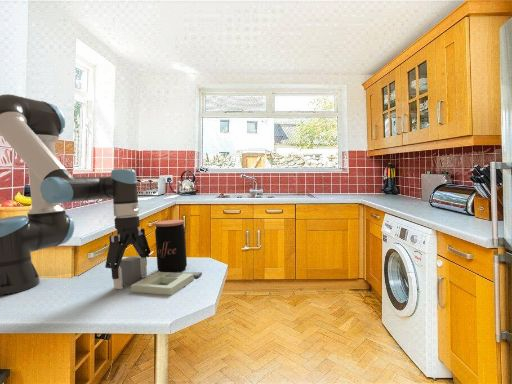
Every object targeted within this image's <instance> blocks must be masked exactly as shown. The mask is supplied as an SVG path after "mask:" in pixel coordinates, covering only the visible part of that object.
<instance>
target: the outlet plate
mask: <svg viewBox="0 0 512 384" xmlns="http://www.w3.org/2000/svg"><path fill="white" fill-rule="evenodd" d="M194 280H195V278H194V274H188V273H182V272H176V273H174V272H159V271H156V272H154V273H152V274H150V275H147V276H146V277H144V278H141V280H140V281H138V282H136V283H134V284H132V285H130V286H131V288H130V289H131V290H130V291H131V292H133V293H144V294H154V295H155V294H157V295H166V296H173V295H174V294H175V293H177V292H178V291H179V290H181V289H183V288H184V287H185V286H187V285H188V284H190V283H191V282H193V281H194ZM164 284H166V285H164Z"/></svg>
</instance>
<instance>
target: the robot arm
mask: <svg viewBox="0 0 512 384" xmlns="http://www.w3.org/2000/svg"><path fill="white" fill-rule="evenodd" d="M65 119H66V118H65V116H64V114H63V111H62V110H61V109H60V108H58V106H57V105H54V104H52V103H48V102H47V101H43V100H41V101H40V100H36V99H32V98H26V97H23V96H19V95H16V94H10V93H8V94H0V136H1V137H2V138H3V139H4V140H5V141H6V142H7V144H9V146H10V147H11V148H12V150H13V151H14V152H15V153H16V154H17V155H18V156H19V158H20V159H21V160H22V161H23V162H24V163H25V165H26V166H28V167H27V169H28V179H29V188H30V200H31V209H30V210H29V211H28V212H27V214H26V215H15V216H7V217H2V218H0V295H2V296H4V295H3V294H8V295H11V294H10V293H12V294H16V293H15V292H17V293H20V292H23V291H25V290H29V289H32V288H34V287H36V286H37V285H39V284H40V275H39V274H38V271H37V270H36V267H35V266H34V264H33V262H32V253H31V252H36V251H40V250H43V249H48V248H53V247H55V248H56V247H58V246H59V245H64V244H66V243H68V242H69V241H70V240H71V239H72V237H73V235H74V233H75V232H74V231H75V223H74V219H72V216H71V215H70V214H67V212H66V209H65V208H64V207H63V206H61V204H67V203H74V202H84V201H95V200H97V201H98V200H105V199H106V200H107V199H109V200H110V199H112V201H113V203H112V205H113V216H114V217H115V218H114V228H115V229H116V231H117V232H116V234H115V235H113V234H112V235H109V239H108V240H109V245H108V250H107V254H106V255H107V256H106V259H105V264H104V265H105V266H104V267H105V269H111V278H112V280H113V281H112V282H113V289H117V290H122V289H123V288H124V286H123V284H122V270H121V268H120V263H121V260H122V259H123V257H124V255H125V251H126V249H128V247H129V246H130V245H132V247H133V248H134V249H135V252H136V253H137V255H138V257H140V265H141V277H144V278H146V277H148V271H147V269H148V268H147V265H148V263H147V262H148V261H147V258H150V257H149V256H150V254H151V247H150V245H149V243H148V239H147V237H146V232H145V231H146V230H145V228H139V227H140V225H141V223H140V216H139V213H140V211H139V210H140V209H139V198H138V179H137V172H136V170H134V169H133V168H121V169H119V168H118V169H112V170H111V172H110V176H73V175H72V174H71V172H70V171H69V170H68V169H67V168H66V167H65V166H64V165H63V164H62V163H61V161H60V160H59V159H58V158H57V153H56V144H55V143H56V142H57V141H58V140H59V139H60V136H59V135H61V134H63V132H64V131H65V130H64V129H65V128H66V120H65Z"/></svg>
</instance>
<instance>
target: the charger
mask: <svg viewBox="0 0 512 384" xmlns="http://www.w3.org/2000/svg"><path fill="white" fill-rule="evenodd" d="M119 268H121V270H122V284H123V285H124V286H131V285H132V284H134V283H136V282H138V281H140V280H142V276H141V265H140V256H127V257H125V258H122V260H121V263H120V266H119Z"/></svg>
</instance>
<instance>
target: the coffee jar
mask: <svg viewBox="0 0 512 384" xmlns="http://www.w3.org/2000/svg"><path fill="white" fill-rule="evenodd" d="M154 226H155V231H154V232H155V233H154V234H155V249H156V250H155V251H156V253H155V254H156V264H157V267H156V268H157V270H158V272H159V271H160V272H174V273H181V272H182V270H183V271H184V270H186V268H187V267H188V261H187V259H188V257H187V246H186V245H187V243H186V228H185V220H184V219H168V220H160V221H156V222H155V223H154Z"/></svg>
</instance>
